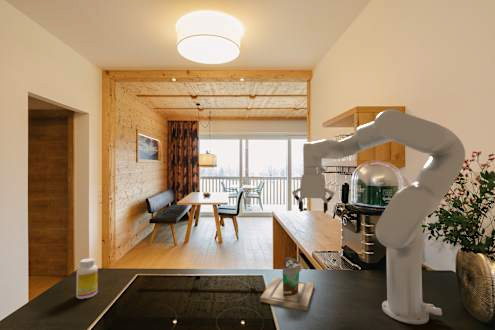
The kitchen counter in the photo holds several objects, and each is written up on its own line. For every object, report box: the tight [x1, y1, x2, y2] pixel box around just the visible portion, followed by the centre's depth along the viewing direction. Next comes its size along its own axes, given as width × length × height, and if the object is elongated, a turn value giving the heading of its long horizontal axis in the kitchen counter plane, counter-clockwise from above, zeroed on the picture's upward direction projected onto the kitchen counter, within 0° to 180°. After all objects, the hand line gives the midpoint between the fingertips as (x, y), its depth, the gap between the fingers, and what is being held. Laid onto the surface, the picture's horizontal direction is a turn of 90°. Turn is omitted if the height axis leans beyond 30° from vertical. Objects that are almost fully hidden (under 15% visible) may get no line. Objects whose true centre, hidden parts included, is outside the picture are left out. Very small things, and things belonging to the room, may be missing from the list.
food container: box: [282, 257, 302, 296], centre depth 92 cm, size 12×6×10 cm, turn 166°
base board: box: [259, 277, 315, 311], centre depth 93 cm, size 16×18×2 cm
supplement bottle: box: [75, 257, 99, 300], centre depth 93 cm, size 7×7×13 cm
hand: (313, 211), depth 106 cm, fingers open, 9 cm apart
